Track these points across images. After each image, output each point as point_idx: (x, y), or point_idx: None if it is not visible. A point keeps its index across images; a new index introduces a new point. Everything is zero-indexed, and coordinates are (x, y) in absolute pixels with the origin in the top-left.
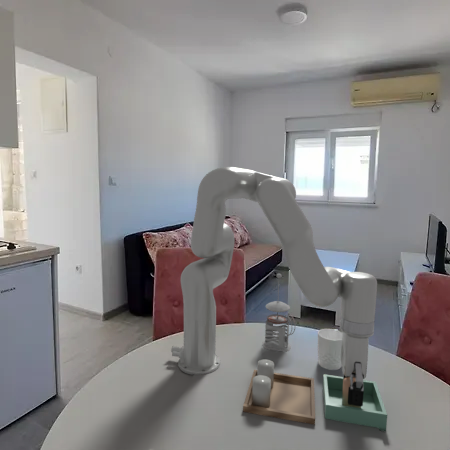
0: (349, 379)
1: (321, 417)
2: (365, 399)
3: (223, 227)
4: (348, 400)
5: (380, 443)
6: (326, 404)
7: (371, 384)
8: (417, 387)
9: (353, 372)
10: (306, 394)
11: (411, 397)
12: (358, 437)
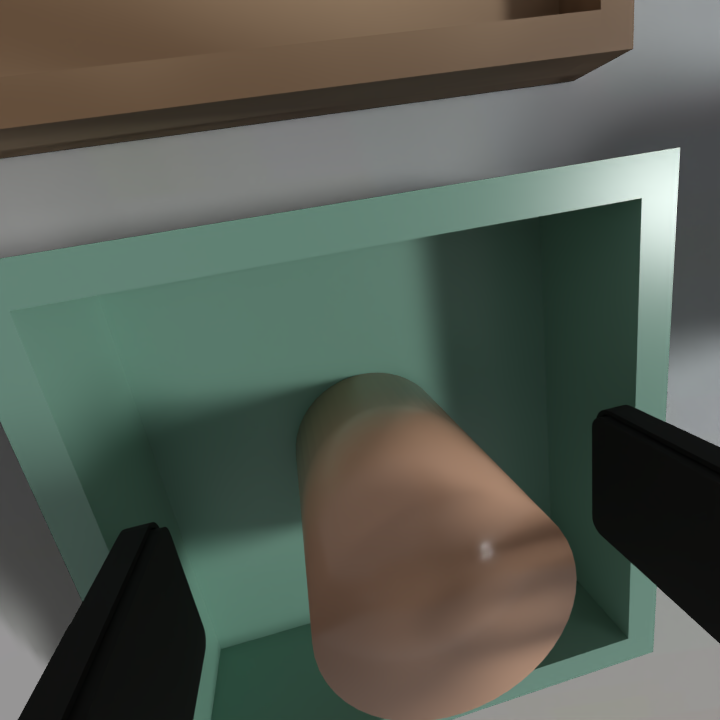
0: (510, 564)
1: (95, 221)
2: None
3: None
4: (110, 559)
5: (54, 649)
6: None
7: (616, 614)
8: (708, 715)
9: (695, 582)
10: (362, 4)
11: (610, 707)
12: (20, 528)
